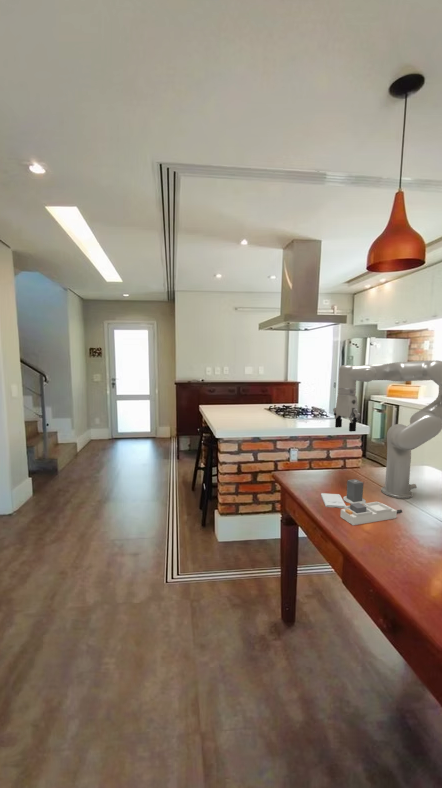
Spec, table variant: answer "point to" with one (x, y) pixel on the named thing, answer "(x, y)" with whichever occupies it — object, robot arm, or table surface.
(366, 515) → the power strip
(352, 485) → the charger
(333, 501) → the external hard drive
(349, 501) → the coaster
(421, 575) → the table surface
